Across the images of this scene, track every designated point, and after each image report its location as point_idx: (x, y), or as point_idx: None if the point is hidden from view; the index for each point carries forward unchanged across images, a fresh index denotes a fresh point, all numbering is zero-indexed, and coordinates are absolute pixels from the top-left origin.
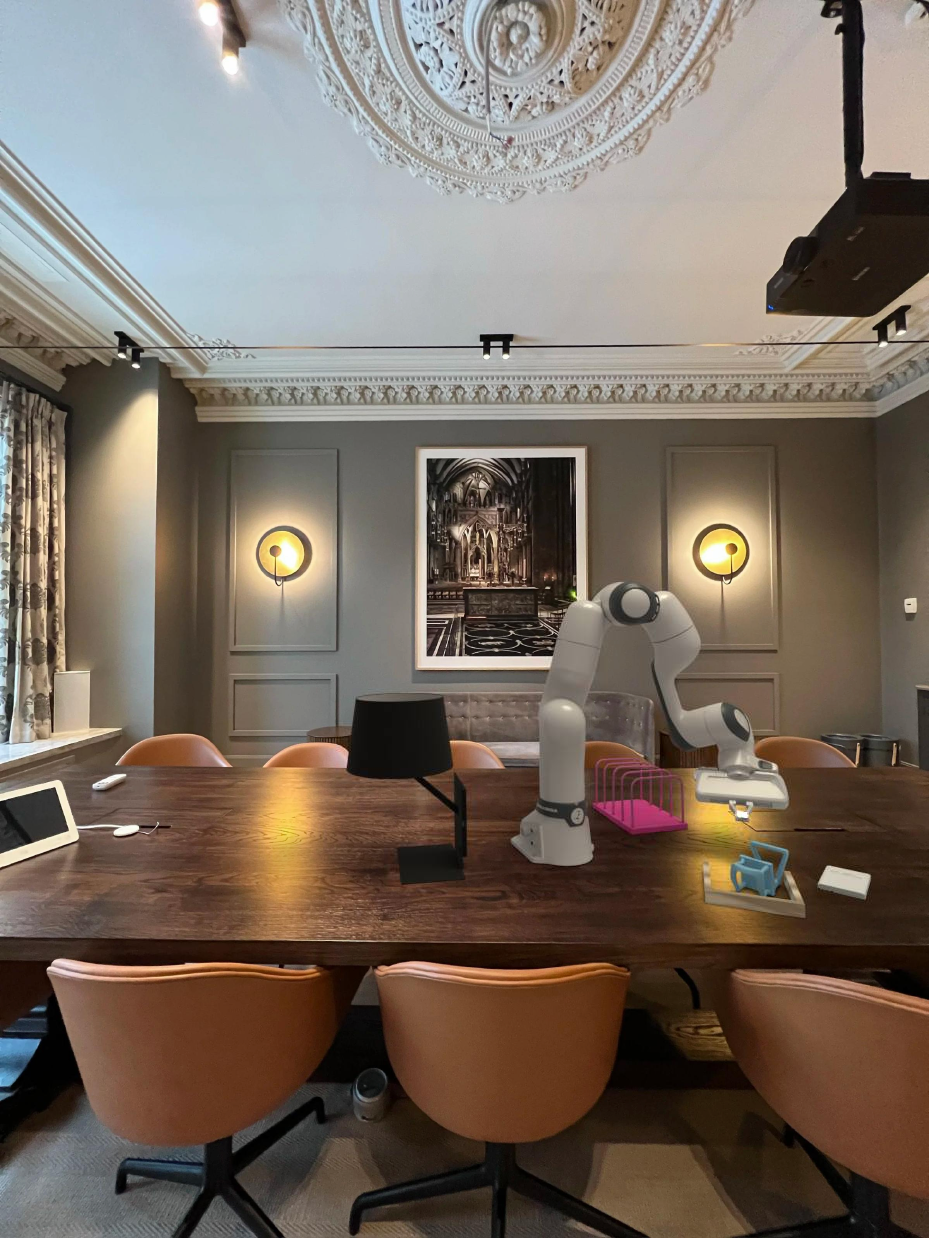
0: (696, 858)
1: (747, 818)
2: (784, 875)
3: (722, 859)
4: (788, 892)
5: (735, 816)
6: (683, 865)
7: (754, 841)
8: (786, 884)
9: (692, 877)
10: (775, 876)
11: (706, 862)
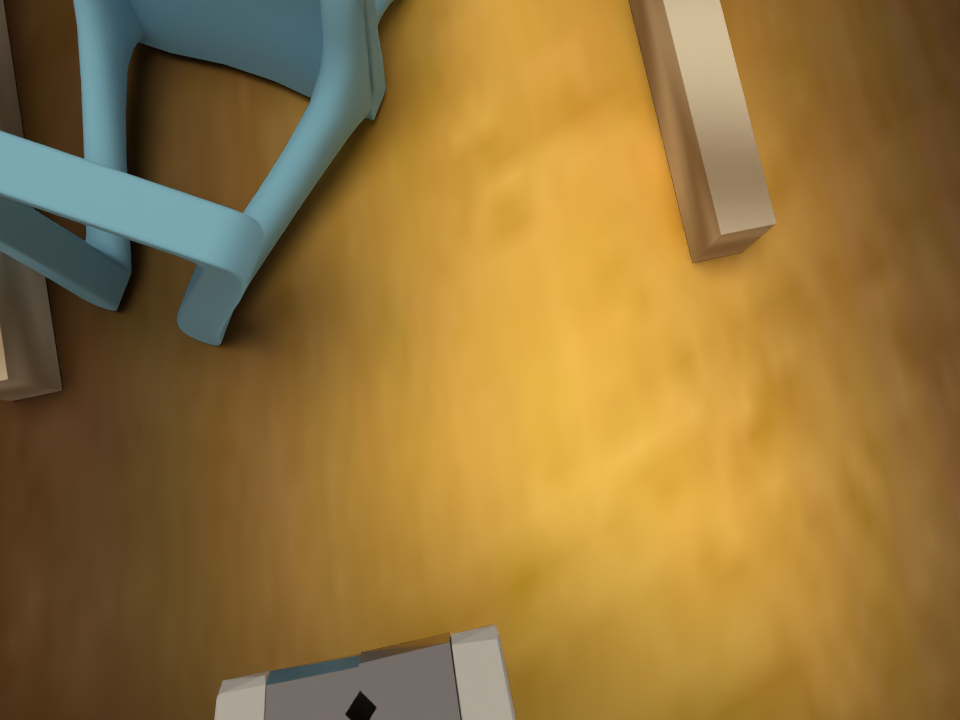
0: (877, 571)
1: (257, 676)
2: (19, 346)
3: (644, 692)
4: None
5: (498, 634)
6: (936, 310)
7: (188, 240)
8: None
9: (792, 74)
10: (93, 247)
11: (732, 190)
